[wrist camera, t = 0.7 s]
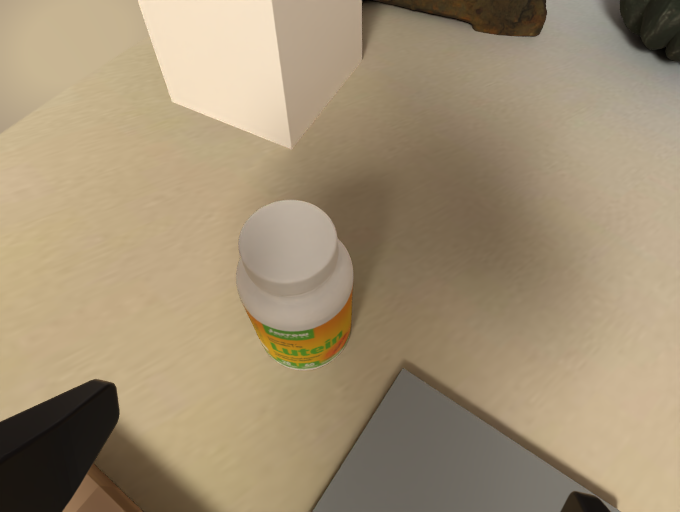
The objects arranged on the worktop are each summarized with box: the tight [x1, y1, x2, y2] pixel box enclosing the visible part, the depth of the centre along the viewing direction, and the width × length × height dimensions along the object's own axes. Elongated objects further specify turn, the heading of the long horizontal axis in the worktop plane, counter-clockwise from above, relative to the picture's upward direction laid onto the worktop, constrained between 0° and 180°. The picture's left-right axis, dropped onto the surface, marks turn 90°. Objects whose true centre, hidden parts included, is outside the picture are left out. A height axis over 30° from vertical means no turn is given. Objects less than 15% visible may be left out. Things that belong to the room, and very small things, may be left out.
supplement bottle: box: [236, 200, 353, 370], centre depth 21 cm, size 5×5×10 cm
